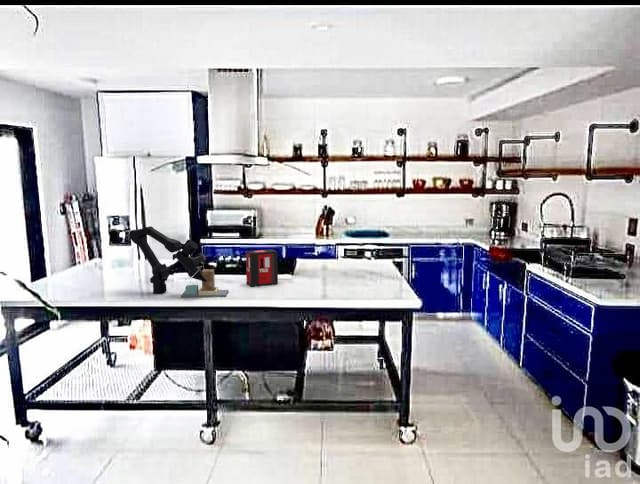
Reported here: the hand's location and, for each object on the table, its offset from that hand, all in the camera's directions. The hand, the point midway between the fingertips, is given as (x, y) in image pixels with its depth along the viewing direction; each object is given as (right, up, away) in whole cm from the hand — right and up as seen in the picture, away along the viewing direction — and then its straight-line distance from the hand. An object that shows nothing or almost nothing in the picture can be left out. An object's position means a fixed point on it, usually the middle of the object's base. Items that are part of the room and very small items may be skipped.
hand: (207, 279), depth 281 cm
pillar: (+1, -7, +1) cm, 7 cm away
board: (-1, -8, +2) cm, 9 cm away
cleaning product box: (+27, -5, +26) cm, 38 cm away
